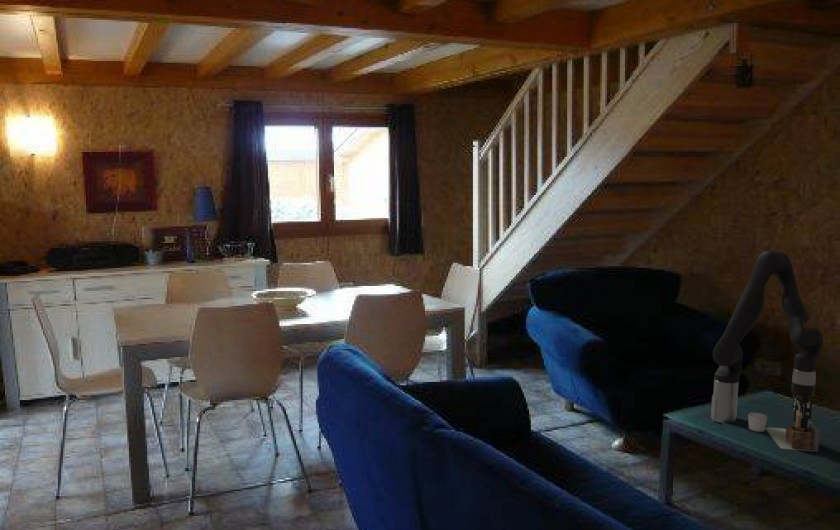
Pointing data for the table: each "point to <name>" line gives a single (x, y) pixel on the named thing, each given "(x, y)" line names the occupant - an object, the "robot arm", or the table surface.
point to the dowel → (798, 422)
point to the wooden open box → (799, 437)
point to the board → (782, 438)
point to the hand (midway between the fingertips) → (800, 424)
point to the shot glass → (757, 421)
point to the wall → (816, 435)
